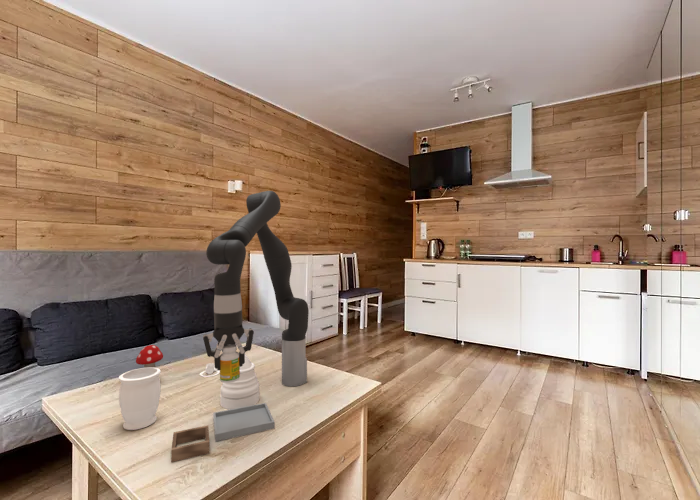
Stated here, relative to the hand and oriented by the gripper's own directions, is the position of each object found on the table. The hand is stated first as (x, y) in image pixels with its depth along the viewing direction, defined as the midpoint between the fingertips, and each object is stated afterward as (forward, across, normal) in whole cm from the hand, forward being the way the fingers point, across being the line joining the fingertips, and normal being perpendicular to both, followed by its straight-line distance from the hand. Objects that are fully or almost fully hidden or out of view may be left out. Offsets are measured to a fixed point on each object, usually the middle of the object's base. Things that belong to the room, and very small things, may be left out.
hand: (229, 367), depth 95 cm
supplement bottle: (+4, 0, 0) cm, 4 cm away
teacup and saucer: (+20, +1, -49) cm, 53 cm away
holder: (+18, +11, +5) cm, 21 cm away
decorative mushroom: (+18, +25, -46) cm, 56 cm away
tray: (+18, -4, -2) cm, 19 cm away
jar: (+18, +24, -15) cm, 34 cm away
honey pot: (+19, -4, -18) cm, 26 cm away
